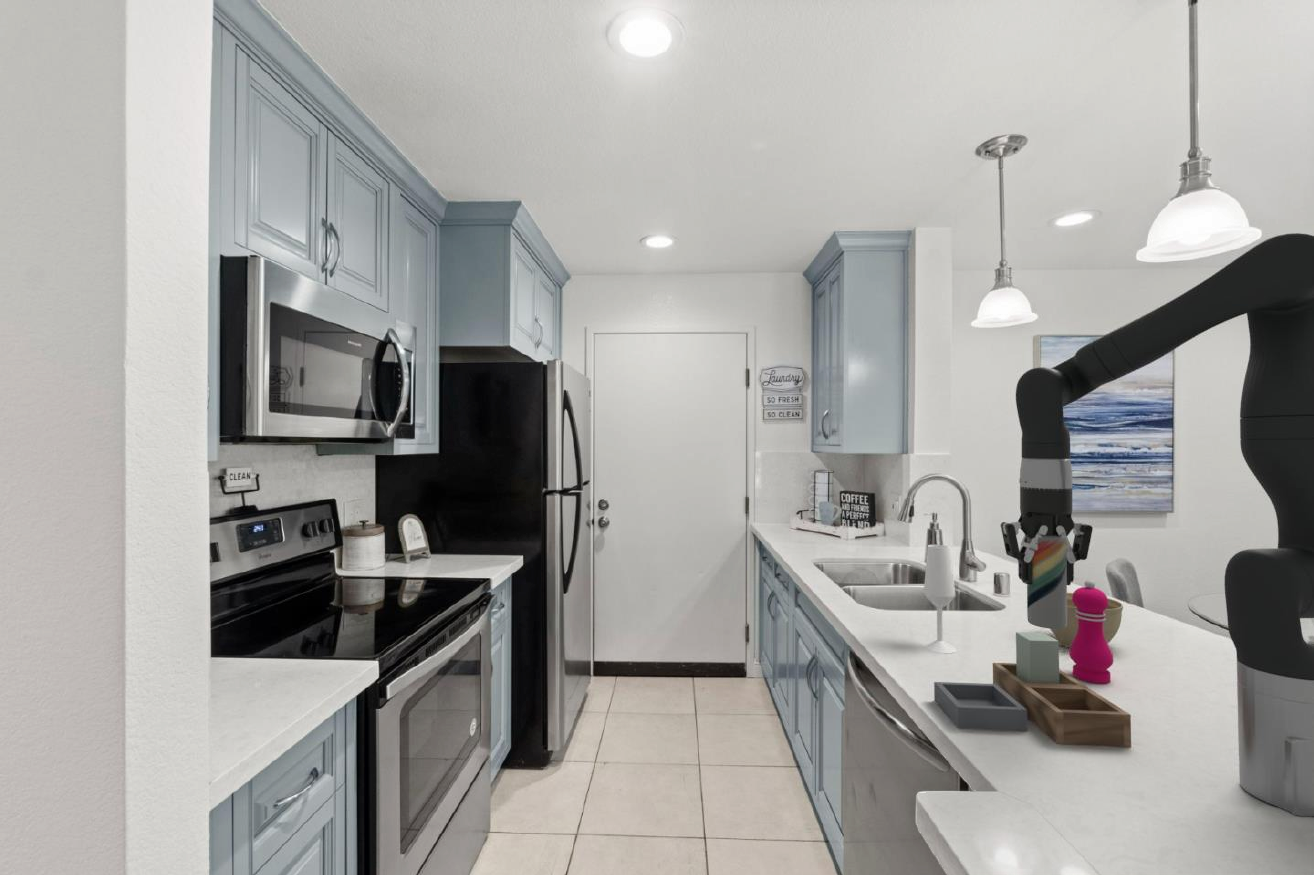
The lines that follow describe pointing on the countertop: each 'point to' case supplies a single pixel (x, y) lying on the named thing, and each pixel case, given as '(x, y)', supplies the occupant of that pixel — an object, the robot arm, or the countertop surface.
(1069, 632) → the planter bowl
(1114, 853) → the countertop surface
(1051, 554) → the lotion bottle
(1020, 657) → the grey-green block
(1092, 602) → the pepper mill
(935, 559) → the champagne flute
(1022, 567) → the robot arm
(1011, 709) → the tray
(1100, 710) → the frame
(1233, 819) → the countertop surface
